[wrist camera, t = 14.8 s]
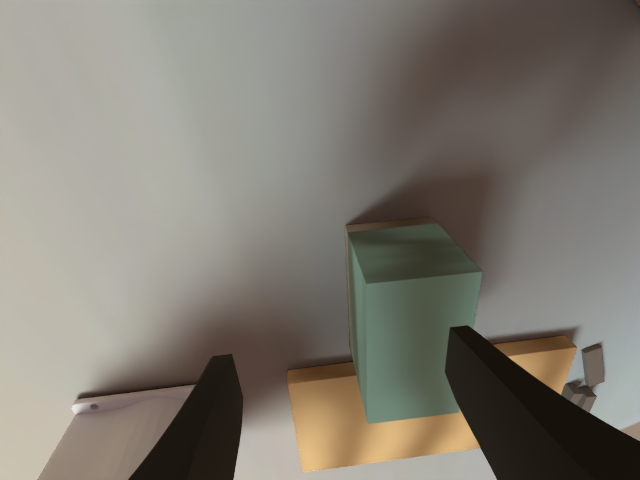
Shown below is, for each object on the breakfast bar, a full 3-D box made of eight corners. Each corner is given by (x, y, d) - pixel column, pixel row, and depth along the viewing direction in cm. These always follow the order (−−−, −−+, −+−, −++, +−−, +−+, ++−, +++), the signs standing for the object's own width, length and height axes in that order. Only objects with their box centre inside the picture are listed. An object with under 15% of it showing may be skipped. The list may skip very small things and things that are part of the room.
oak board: (301, 457, 29) (302, 472, 28) (287, 370, 25) (287, 384, 23) (536, 425, 30) (545, 438, 29) (564, 335, 25) (577, 347, 24)
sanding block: (349, 344, 24) (367, 424, 19) (344, 224, 20) (366, 283, 15) (421, 335, 24) (458, 412, 19) (430, 216, 20) (483, 271, 15)
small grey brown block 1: (604, 381, 28) (596, 373, 28) (601, 347, 26) (593, 339, 27) (589, 387, 28) (581, 378, 28) (585, 353, 26) (577, 345, 27)
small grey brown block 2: (571, 430, 29) (580, 429, 29) (587, 397, 27) (596, 396, 28) (561, 417, 30) (570, 417, 30) (575, 384, 29) (585, 383, 29)
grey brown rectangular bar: (551, 428, 29) (560, 428, 29) (574, 393, 27) (583, 394, 27) (542, 414, 30) (550, 415, 30) (563, 381, 28) (572, 381, 28)
